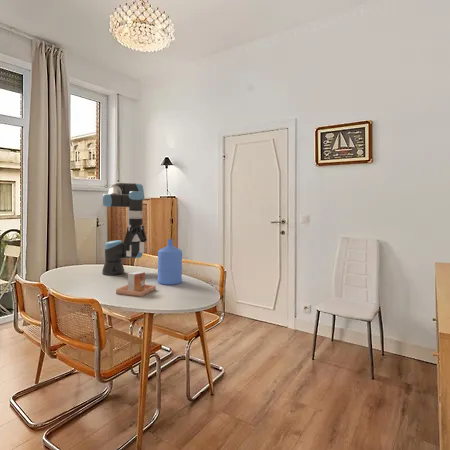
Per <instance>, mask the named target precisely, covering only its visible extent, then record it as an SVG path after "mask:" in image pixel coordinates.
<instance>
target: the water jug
mask: <svg viewBox="0 0 450 450" xmlns="http://www.w3.org/2000/svg"><path fill="white" fill-rule="evenodd" d="M173 240H174V239H171V238H170V239H169V238H168V239H167V245H166V246H164V247H162V248H160V249H159V250H158V251H157V282H158V284H160V285H164V286H165V285H166V286H168V285H169V286H173V285H178V284H181V283H182V281H183V278H182V276H183V275H182V274H183V250H182V249H180V248H179V247H176V246H175V245H173V243H174V241H173Z"/></svg>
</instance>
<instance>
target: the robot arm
mask: <svg viewBox="0 0 450 450" xmlns="http://www.w3.org/2000/svg"><path fill="white" fill-rule="evenodd" d="M143 201H145V191H144V186H143V184H142V183H131V182H129V183H127V182H126V183H125V182H118V183H114V184H111V185H110V186H108V188H107V190H106V193H103V194H102V206H103V207H108V208H117V207H118V208H121V207H122V208H127V227H126V233H125V236H124V240H123V241H122V240H119V239H117V240H110V241H107V242H105V244H104V265H103V268H102V270H101V271H102V272H101V273H102V275H105V276H119V275H123V274H125V267H124V264H123V259H140V258H142V257H143V255H144V253H145V243H146V242H147V236H146V232H145V226H144V225H143V223H144V222H143V214H144V213H143V206H144V202H143Z"/></svg>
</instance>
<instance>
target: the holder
mask: <svg viewBox="0 0 450 450" xmlns="http://www.w3.org/2000/svg"><path fill="white" fill-rule="evenodd" d="M154 291H157V287H156V285H152V284H146V283H145V290H143V291H130V290H128V284H126V285H124V286H121V287H119V288H116V289H115V294H116V295H121V296H122V295H124V296H132V297H139V298H141V297H144V296H146V295H148V294H150V293H151V292H154Z"/></svg>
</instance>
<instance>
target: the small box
mask: <svg viewBox="0 0 450 450" xmlns="http://www.w3.org/2000/svg"><path fill="white" fill-rule="evenodd" d="M145 284H146V272H145V271H139V270H138V271H134V272H128V273H127V285H128V290H130V291H143V290H145Z"/></svg>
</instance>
